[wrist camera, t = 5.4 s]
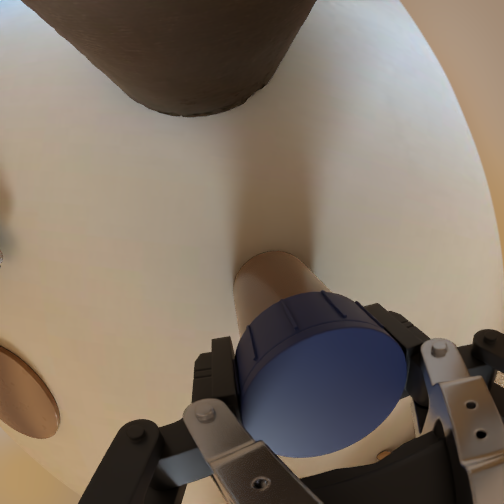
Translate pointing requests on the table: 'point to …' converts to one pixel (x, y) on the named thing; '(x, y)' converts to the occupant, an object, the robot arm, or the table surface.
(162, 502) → the robot arm
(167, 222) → the table surface
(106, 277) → the table surface
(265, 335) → the lid
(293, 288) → the jar
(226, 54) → the pillar candle
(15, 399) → the coaster
